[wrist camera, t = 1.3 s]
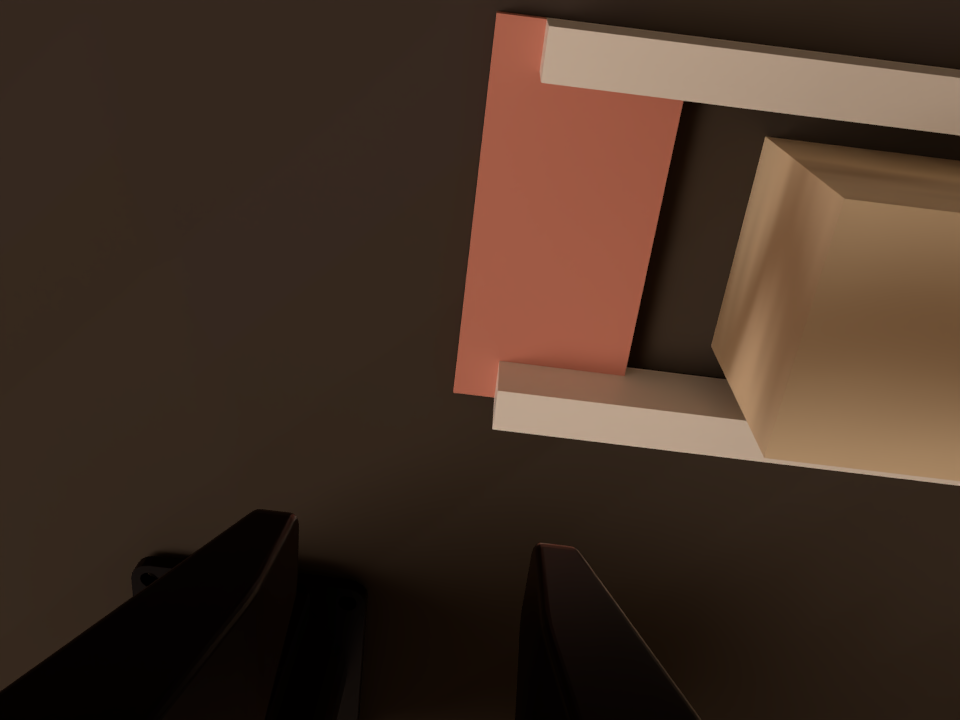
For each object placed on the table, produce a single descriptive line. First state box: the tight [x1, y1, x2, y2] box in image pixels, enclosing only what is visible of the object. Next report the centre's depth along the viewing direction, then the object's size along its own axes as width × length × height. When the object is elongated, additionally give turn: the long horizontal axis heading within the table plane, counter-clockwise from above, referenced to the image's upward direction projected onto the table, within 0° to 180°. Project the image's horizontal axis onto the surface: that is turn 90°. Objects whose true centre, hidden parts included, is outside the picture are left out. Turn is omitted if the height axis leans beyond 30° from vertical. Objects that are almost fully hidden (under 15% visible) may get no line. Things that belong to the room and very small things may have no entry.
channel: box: [453, 11, 960, 486], centre depth 18 cm, size 9×20×2 cm, turn 83°
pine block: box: [711, 137, 960, 481], centre depth 17 cm, size 5×5×5 cm
